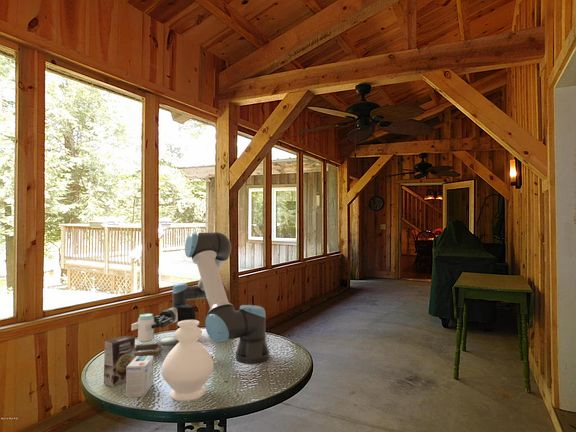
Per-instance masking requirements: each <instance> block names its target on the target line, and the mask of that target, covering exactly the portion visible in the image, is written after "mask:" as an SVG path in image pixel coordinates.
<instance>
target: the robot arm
mask: <svg viewBox="0 0 576 432" xmlns="http://www.w3.org/2000/svg"><path fill="white" fill-rule="evenodd" d="M184 253H185V255H186V257H187V258H191V260H192V263H193V264H196V265H197V266H196V267H197V268H198V272H199V275H200V279H199V280H198V283H197V285H195V284H194V285H188V283H186V282H176V283H174V284H173V285H172V307H170V308H167V309H164V310H163V311H161V312H160V313H159V315H156V316H153V317H154V322H153V323H151V324H148V325H146V326H145V332H147V331H150V330H152V329H154V330H155V329H159V328H161V329H163V328H165V327H166V326H169V325H173V324H174V323H176V322H178V313H177V307H178V306H179V304H181V305H188V301H191V300H192V301H193V300H199V299H206V300H207V303H208V307H209V310H208V311H207V316H206V317H205V321H204V323H205V330H206V333H207V335H208V337H209V338H210V339H211V340H212V341H213V342H216V343H218V342H226V341H229V340H234V339H235V340H236V339H238V338H239V341H238V345H237V348H236V351H235V360H236V361H237V362H240V363H242V364H260V363H263V362H267V361H268V360H269V359H270V350H269V348H268V344H267V340H266V318H267V316H266V310H265V308H264V307H262V306H260V305H253V304H242V305H240V306H239V310H238V309H237V310H235V306H234V304H232V303H230V302H229V299H228V296H227V293H226V289H225V287H224V283H223V280H222V278H221V277H222V276H221V275H220V271H221V269H222V267H223V265H224V263H225V261H228V259H229V258H230V255H231V253H232V243H231V240H230V239H229V238H228V236H227V235H226V234H225V233H221V232H199V231H198V232H191V233H189V234H188V235H187V237H186V240H185V243H184ZM130 324H131V323H130ZM130 327H131V329H130V330H131V331H135V330H138V319H137V321H136V322H134V323H132V324H131V325H130Z"/></svg>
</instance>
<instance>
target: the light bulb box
mask: <svg viewBox="0 0 576 432" xmlns="http://www.w3.org/2000/svg"><path fill="white" fill-rule="evenodd" d="M153 384H154V356H136V357H135V358H134V359H133V360H132V361H131V363H130V364H129V365H128V366H127V367H126V382H125V397H126V398H136V397H137V398H138V397H146V394H147V393H148V392H149V390H150V389H151V388H152V386H153Z"/></svg>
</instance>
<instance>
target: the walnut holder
mask: <svg viewBox="0 0 576 432" xmlns="http://www.w3.org/2000/svg"><path fill="white" fill-rule="evenodd" d="M137 349H138V350H145V351H137ZM149 349H155V350H149ZM161 349H162V345H161V343H156V342H155V343H143V344H142V343H141V344H135V351H136V352H135V357H136V356H153V357H159V355H160V353H161ZM146 350H148V351H146Z"/></svg>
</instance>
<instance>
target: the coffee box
mask: <svg viewBox="0 0 576 432" xmlns="http://www.w3.org/2000/svg"><path fill="white" fill-rule="evenodd" d="M135 345H136V337H135V336H129V335H122V336H118V337H114V338H111V339H107V340H104V359H103V360H104V361H103V384H105V385H107V386H109V387H111V388H113V387H114V388H115V387H117V386H119V385H123V384H126V367H127V366H128V365H129V364H130V363H131V361H132V360H133V359H134V358H135Z"/></svg>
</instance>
